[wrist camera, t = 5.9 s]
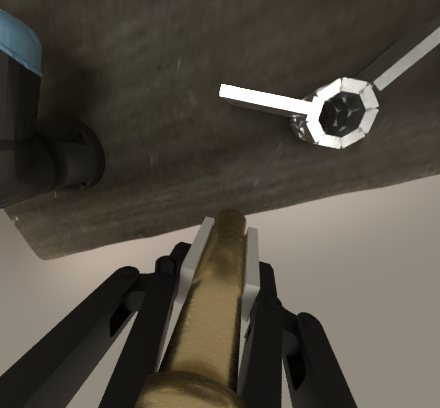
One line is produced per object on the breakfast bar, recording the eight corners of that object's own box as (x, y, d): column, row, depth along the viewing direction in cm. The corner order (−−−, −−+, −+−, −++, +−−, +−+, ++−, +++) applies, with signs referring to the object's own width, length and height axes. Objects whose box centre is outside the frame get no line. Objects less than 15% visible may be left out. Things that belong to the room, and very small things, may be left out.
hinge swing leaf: (307, 148, 35) (331, 159, 25) (282, 117, 34) (295, 114, 23) (413, 63, 29) (506, 28, 18) (386, 21, 28) (470, -43, 17)
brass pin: (207, 235, 21) (117, 460, 7) (214, 199, 19) (117, 396, 5) (246, 244, 20) (233, 497, 7) (256, 209, 19) (268, 443, 5)
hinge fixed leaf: (226, 122, 36) (214, 121, 25) (235, 77, 33) (226, 54, 22) (325, 143, 35) (358, 153, 24) (342, 99, 32) (389, 86, 21)
